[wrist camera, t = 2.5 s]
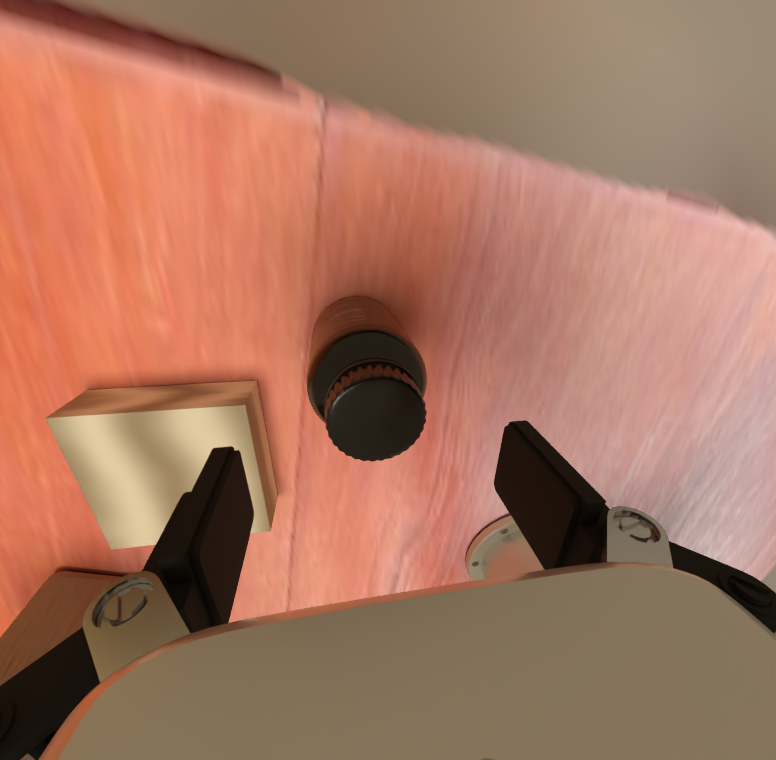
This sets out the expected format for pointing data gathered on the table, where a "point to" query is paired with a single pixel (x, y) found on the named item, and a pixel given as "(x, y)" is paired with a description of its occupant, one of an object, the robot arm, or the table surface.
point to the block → (48, 619)
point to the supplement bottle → (366, 380)
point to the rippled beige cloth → (160, 451)
